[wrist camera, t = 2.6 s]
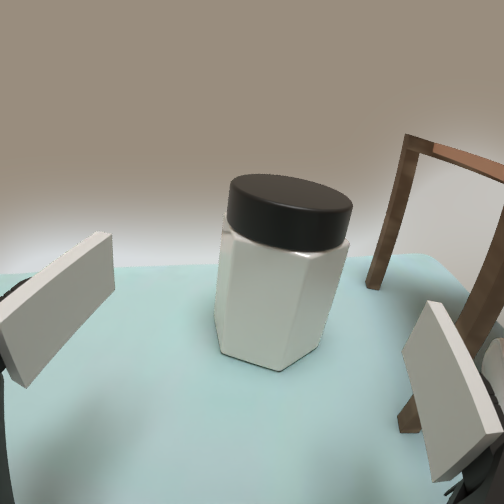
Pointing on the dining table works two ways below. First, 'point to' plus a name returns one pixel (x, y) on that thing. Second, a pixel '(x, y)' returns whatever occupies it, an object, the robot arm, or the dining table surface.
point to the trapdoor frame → (488, 281)
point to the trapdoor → (471, 160)
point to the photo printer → (495, 368)
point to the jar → (278, 267)
